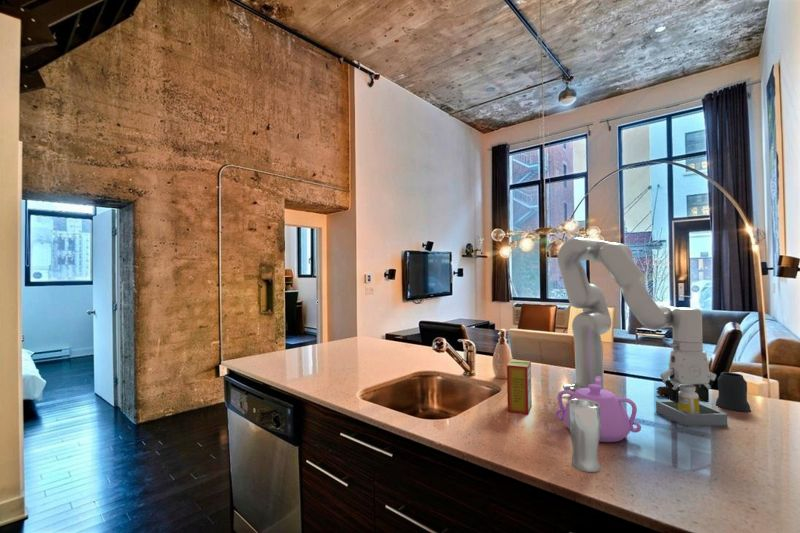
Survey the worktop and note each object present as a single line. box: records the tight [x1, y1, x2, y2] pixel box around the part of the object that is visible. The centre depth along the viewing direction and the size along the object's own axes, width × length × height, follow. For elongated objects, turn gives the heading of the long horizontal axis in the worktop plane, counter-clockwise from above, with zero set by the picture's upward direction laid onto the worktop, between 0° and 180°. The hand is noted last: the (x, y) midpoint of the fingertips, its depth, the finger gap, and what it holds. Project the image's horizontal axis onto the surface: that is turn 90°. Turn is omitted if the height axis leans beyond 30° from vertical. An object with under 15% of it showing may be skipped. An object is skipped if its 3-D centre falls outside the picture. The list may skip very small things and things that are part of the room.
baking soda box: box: [506, 359, 533, 416], centre depth 129 cm, size 10×6×16 cm
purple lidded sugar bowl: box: [554, 376, 642, 443], centre depth 111 cm, size 22×22×14 cm
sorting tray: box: [655, 400, 728, 428], centre depth 119 cm, size 13×13×4 cm
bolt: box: [656, 384, 701, 397], centre depth 140 cm, size 6×5×15 cm
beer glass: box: [568, 399, 601, 474], centre depth 90 cm, size 7×7×15 cm
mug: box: [715, 371, 752, 413], centre depth 130 cm, size 12×9×11 cm
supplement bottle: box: [678, 384, 700, 414], centre depth 119 cm, size 5×5×10 cm
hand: (688, 401), depth 119 cm, fingers open, 9 cm apart
